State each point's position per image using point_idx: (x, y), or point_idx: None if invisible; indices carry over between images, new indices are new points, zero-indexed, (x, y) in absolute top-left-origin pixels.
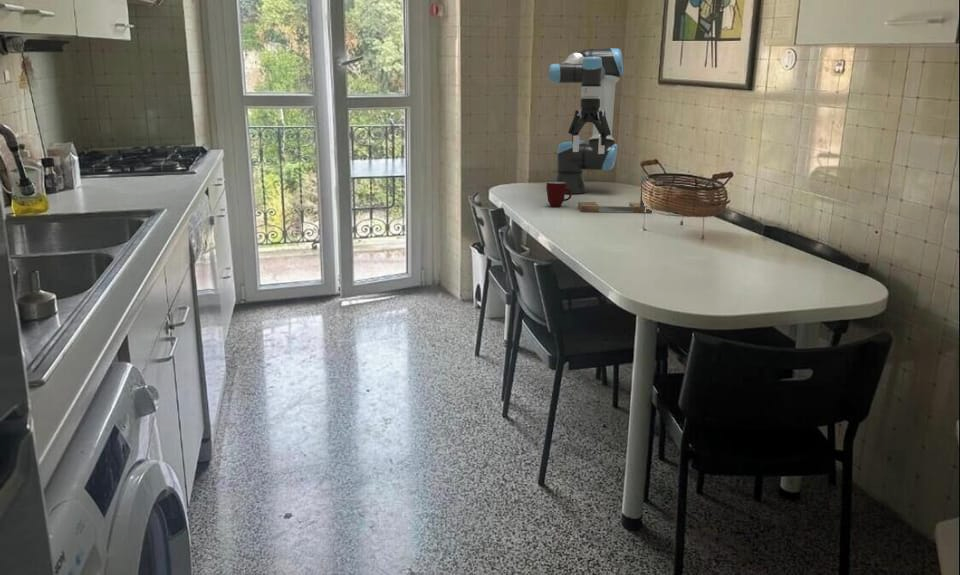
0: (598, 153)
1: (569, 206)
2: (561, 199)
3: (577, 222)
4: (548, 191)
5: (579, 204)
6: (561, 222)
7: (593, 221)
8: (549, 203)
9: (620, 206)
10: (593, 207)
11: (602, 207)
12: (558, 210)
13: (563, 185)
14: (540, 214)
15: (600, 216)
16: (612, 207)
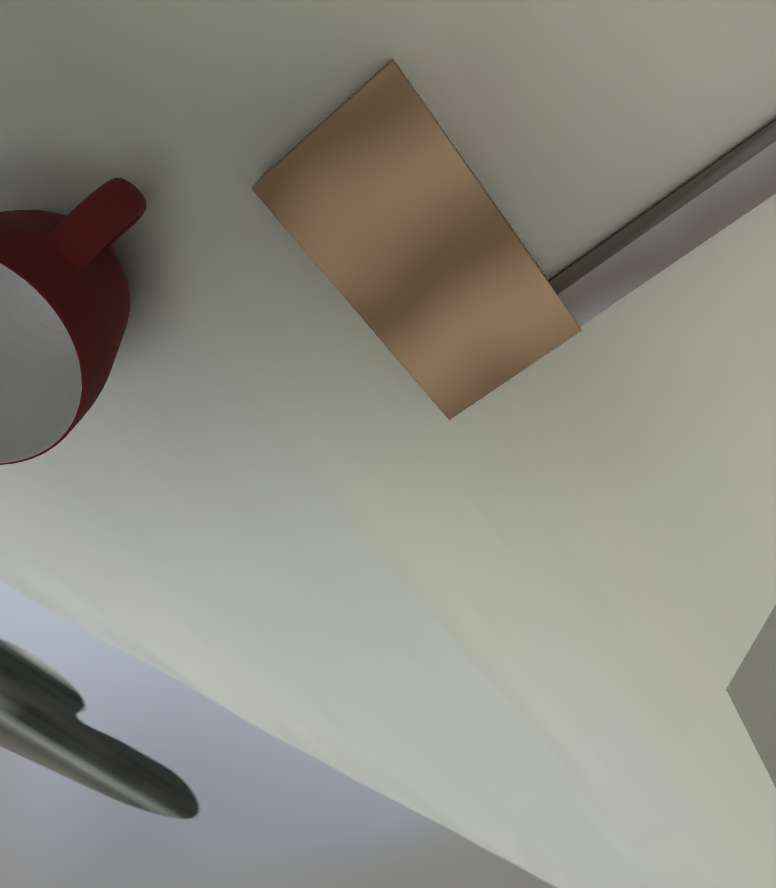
0: (736, 697)
1: (143, 158)
2: (128, 309)
3: (640, 715)
4: (2, 412)
5: (340, 288)
6: (566, 755)
7: (706, 647)
8: (37, 326)
9: (752, 157)
10: (536, 354)
11: (606, 305)
12: (258, 435)
13: (93, 365)
14: (300, 638)
15: (668, 473)
16: (691, 249)
